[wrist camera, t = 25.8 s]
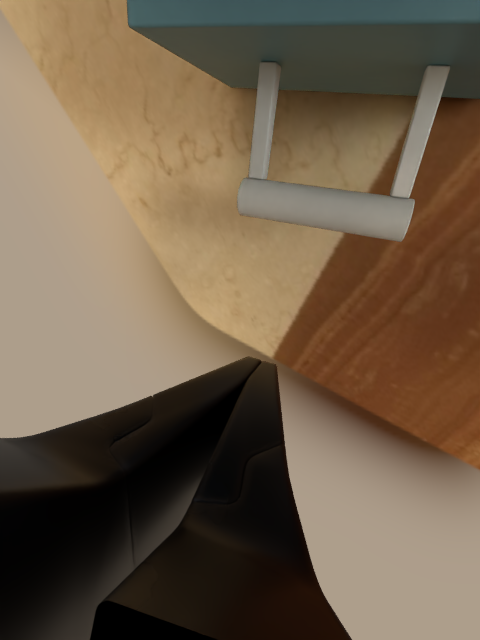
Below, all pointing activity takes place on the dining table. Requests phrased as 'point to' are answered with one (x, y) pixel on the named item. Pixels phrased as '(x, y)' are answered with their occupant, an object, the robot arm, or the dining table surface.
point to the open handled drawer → (326, 82)
